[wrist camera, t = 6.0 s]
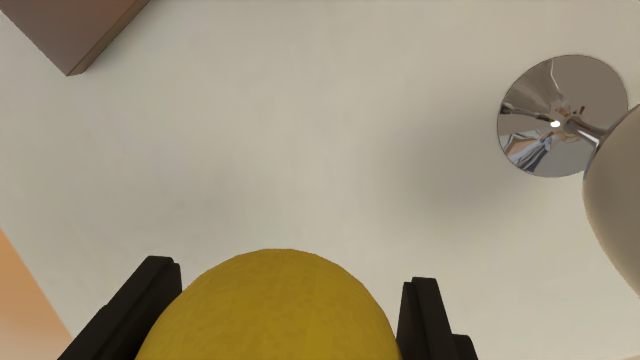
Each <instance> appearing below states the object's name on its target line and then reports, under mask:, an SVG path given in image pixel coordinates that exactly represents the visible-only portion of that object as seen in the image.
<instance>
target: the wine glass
mask: <svg viewBox="0 0 640 360" xmlns="http://www.w3.org/2000/svg"><path fill="white" fill-rule="evenodd" d="M497 132H498V138H499V142H500V145H501V147H502V149H503V152H504V154H505V155H506V156H507V157H508V159H509V160H510V161H511V162H512V163H513V164H514V165H515V166H517V167H518V168H520V169H521V170H523V171H525V172H527V173H530V174H532V175H535V176H541V177H562V176H568V175H571V174H575V173H578V172H580V171H582V170H585V171H584V176H583V181H582V197H583V202H584V206H585V211H586V215H587V219H588V221H589V223H590V225H591V228H592V230H593V232H594V234H595V236H596V238H597V240H598V242H599V244H600V246H601V248H602V249H603V251H604V252H605V254H606V255H607V257H608V258H609V260H610V261H611V262H612V264H613V265H614V267H615V268H616V270H617V271H618V272H619V274H620V275H621V276H622V278H623V279H624V280H625V281H626V283H627V284H628V285H629V286H630V287H631V288H632V289H633V290H634V292H635V293H636V294H637V295H638V296H639V297H640V104H638V105H637V106H635V107H634V108H632V109H631V110H629V111H628V101H627V95H626V91H625V88H624V86H623V83H622V81H621V80H620V78H619V77H618V75H617V74H616V73H615V72H614V71H613V70H612V69H611V68H610V67H609V66H608V65H606V64H604V63H603V62H601V61H599V60H596V59H594V58H591V57H587V56H580V55H565V56H560V57H555V58H552V59H549V60H546V61H544V62H541V63H540V64H538V65H536V66H534V67H532V68H531V69H529V70H528V71H527V72H526V73H524V74H523V75H522V76H521V77H520V78H519V79H518V80H517V81H516V82H515V83H514V84H513V85H512V87H511V88H510V90H509V91H508V92H507V94H506V96H505V98H504V100H503V102H502V104H501V107H500V111H499V114H498V121H497Z"/></svg>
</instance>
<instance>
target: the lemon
mask: <svg viewBox="0 0 640 360" xmlns="http://www.w3.org/2000/svg"><path fill="white" fill-rule="evenodd" d="M134 360H403V357H402V354H401V352H400V349H399V346H398V344H397V341H396V339H395V336H394V334H393V331H392V328H391V326H390V323H389V321H388V319H387V317H386V315H385V313H384V311H383V310H382V309H381V307H380V306H379V305H378V303H377V302H376V301H375V299H374V298H373V297H372V295H371V294H370V293H369V291H368V290H367V289H366V288H365V286H364V285H363V284H362V283H361V282H360V281H358V280H357V279H356V278H355V277H353V276H352V275H351V274H350V273H348V272H347V271H346V270H345V269H343V268H342V267H341V266H339V265H337V264H335V263H333V262H331V261H329V260H327V259H324V258H322V257H320V256H318V255H316V254H312V253H307V252H303V251H298V250H294V249H263V250H258V251H254V252H250V253H246V254H241V255H237V256H235V257H233V258H231V259H229V260H227V261H225V262H223V263H221V264H219V265H217V266H215V267H214V268H212V269H210V270H208V271H206V272H205V273H203V274H202V275H201V276H199V277H198V278H197V279H196V280H195V281H194V282H193V283H192V284H190V285H189V286H188V287H187V288H186V289H185V290H184V291H183V292H182V293H181V294H180V295H179V296H178V297H177V298H176V299H175V300H174V301H173V302H172V303H171V304H169V306H168V307H167V308H166V309H165V310H164V312H163V313H162V314H161V315H160V316H159V318H158V319H157V321H156V322H155V324H154V325H153V327H152V328H151V330H150V332H149V333H148V335H147V337H146V339H145V341H144V342H143V344H142V346H141V348H140V350H139V352H138V354H137V356H136V358H135V359H134Z"/></svg>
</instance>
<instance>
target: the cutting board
mask: <svg viewBox="0 0 640 360" xmlns="http://www.w3.org/2000/svg"><path fill="white" fill-rule="evenodd" d="M149 1H150V0H0V10H1V11H2V12H3V13H4V14H5V15H6V16H7V17H8V18H9V19H10V20H11V21H12V22H13V23H14V24H15V25H16V26H17V27H18V28H19V29H20V30H21V31H22V32H23V33H24V34H25V35H26V36H27V37H28V38H29V39H30V40H31V41H32V42H33V43H34V44H35V45H36V46H37V47H38V48H39V49H40V50H41V51H42V52H43V53H44V54H45V55H46V56H47V57H48V58H49V59H50V60H51V61H52V62H53V63H54V64H55V65H56V66H57V67H58V68H59V69H60V70H61V71H62V72H63V73H64V74H65V75H66V76H72V75H77V74H81V73H83V72H84V71H85V70H86V68H87V67H88V66H89V65H90V64H91V63H92V62H93V61H94V60H95V59H96V58H97V57H98V56H99V54H100V53H101V52H102V51H103V50H104V49H105V48H106V47H107V46H108V45H109V44H110V43H111V42H112V41H113V39H114V38H115V37H116V36H117V35H118V34H119V33H120V32H121V31H122V30H123V29H124V28H125V27H126V25H127V24H128V23H129V22H130V21H131V20H132V19H133V18H134V17H135V16H136V15H137V14H138V13H139V11H140V10H141V9H142V8H143V7H144V6H145V5H146V4H147V3H148V2H149Z"/></svg>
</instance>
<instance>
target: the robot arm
mask: <svg viewBox="0 0 640 360" xmlns="http://www.w3.org/2000/svg"><path fill="white" fill-rule="evenodd" d="M181 293H182V282H181V271H180V265H179V264H178V263H174V261H173V259H172V258H171V257H163V256H148V257H147V258H146V259H145V260H144V261H143V262H142V263H141V265H140V266H139V267H138V268H137V269H136V271H135V272H134V273H133V274H132V275H131V276H130V278H129V279H128V280H127V281H126V282H125V284H124V285H123V286H122V287H121V288H120V289H119V291H118V292H117V293H116V294H115V295H114V297H113V298H112V299H111V300H110V301H109V303H108V304H107V305H104V306H103V307H102V308H101V309H100V310H99V311H98V312H97V314H96V315H95V316H94V317H93V318H92V319H91V321H90V322H89V323H88V324H87V325H86V326H85V328H84V329H83V330H82V331H81V332H80V333H79V335H78V336H77V337H76V338H75V339H74V340H73V342H72V343H71V344H70V345H69V346H68V347H67V349H66V350H65V351H64V352H63V353H62V355H61V356H60V357H59V358H58V359H57V360H134V359H135V358H136V356H137V354H138V352H139V350H140V348H141V346H142V344H143V342H144V341H145V339H146V337H147V335H148V333H149V332H150V330H151V328H152V327H153V325H154V324H155V322H156V321H157V319H158V318H159V316H160V315H161V314H162V313H163V312H164V310H165V309H166V308H167V307H168V306H169V304H171V303H172V302H173V301H174V300H175V299H176V298H177V297H178V296H179V295H180V294H181ZM396 341H397V344H398V346H399V349H400V352H401V354H402V357H403V360H478V358H477V355H476V352H475V349H474V346H473V343H472V341H471V339H470V337H469V336H468V335H458V334H452V332H451V329H450V325H449V322H448V318H447V315H446V311H445V308H444V304H443V301H442V298H441V294H440V291H439V287H438V284H437V281H436V279H435V278H423V277H413V278H412V281H411V282H404V285H403V292H402V299H401V306H400V314H399V321H398V329H397V336H396Z"/></svg>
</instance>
